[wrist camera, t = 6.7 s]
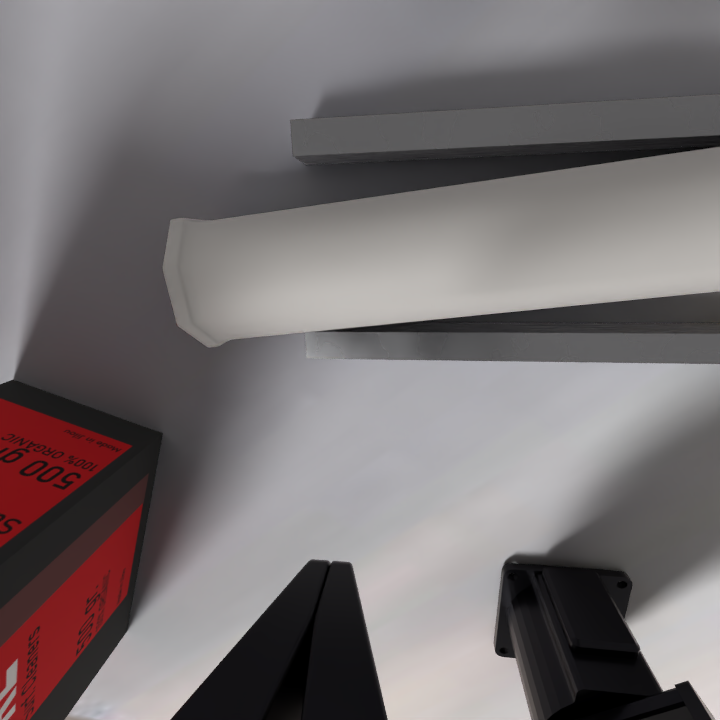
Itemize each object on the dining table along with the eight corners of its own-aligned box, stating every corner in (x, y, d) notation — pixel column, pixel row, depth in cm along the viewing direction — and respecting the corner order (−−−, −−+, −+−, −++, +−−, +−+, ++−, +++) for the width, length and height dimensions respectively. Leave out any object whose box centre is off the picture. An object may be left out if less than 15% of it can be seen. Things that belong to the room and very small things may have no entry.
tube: (1016, 57, 10) (156, 193, 14) (1046, 255, 10) (165, 343, 14) (813, 163, 16) (228, 242, 19) (830, 294, 15) (235, 350, 19)
